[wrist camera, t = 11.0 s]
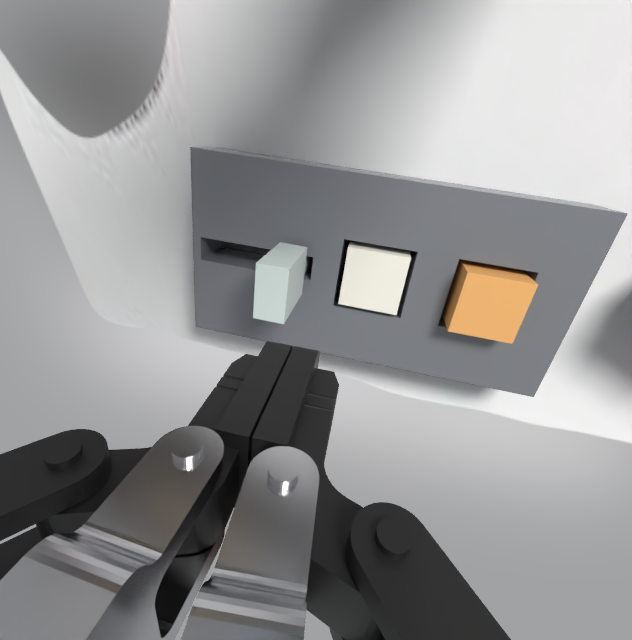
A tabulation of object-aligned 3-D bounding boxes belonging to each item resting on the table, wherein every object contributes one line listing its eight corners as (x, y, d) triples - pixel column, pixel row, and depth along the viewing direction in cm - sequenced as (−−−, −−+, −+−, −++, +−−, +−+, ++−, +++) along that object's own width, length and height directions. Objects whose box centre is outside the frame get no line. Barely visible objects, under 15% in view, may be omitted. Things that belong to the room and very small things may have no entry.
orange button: (457, 256, 26) (467, 272, 23) (517, 266, 26) (538, 284, 22) (440, 308, 28) (447, 331, 25) (496, 319, 28) (512, 343, 24)
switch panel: (215, 147, 28) (190, 147, 24) (593, 204, 25) (627, 213, 21) (215, 308, 34) (195, 326, 30) (516, 368, 31) (533, 397, 28)
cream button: (353, 234, 28) (348, 247, 25) (408, 244, 28) (411, 258, 24) (344, 285, 30) (338, 303, 27) (395, 295, 30) (396, 315, 26)
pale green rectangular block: (294, 229, 29) (255, 262, 20) (318, 233, 29) (289, 269, 20) (290, 271, 31) (253, 317, 22) (312, 275, 30) (283, 324, 22)
